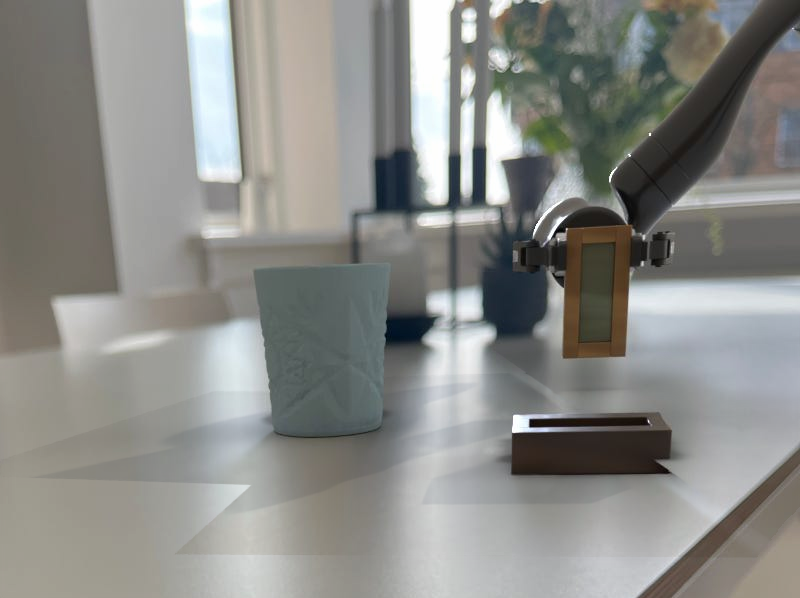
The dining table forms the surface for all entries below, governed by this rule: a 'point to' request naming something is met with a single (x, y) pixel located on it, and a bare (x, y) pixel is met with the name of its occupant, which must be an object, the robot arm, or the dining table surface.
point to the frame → (596, 292)
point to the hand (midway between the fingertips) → (598, 254)
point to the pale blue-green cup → (324, 346)
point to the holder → (590, 443)
